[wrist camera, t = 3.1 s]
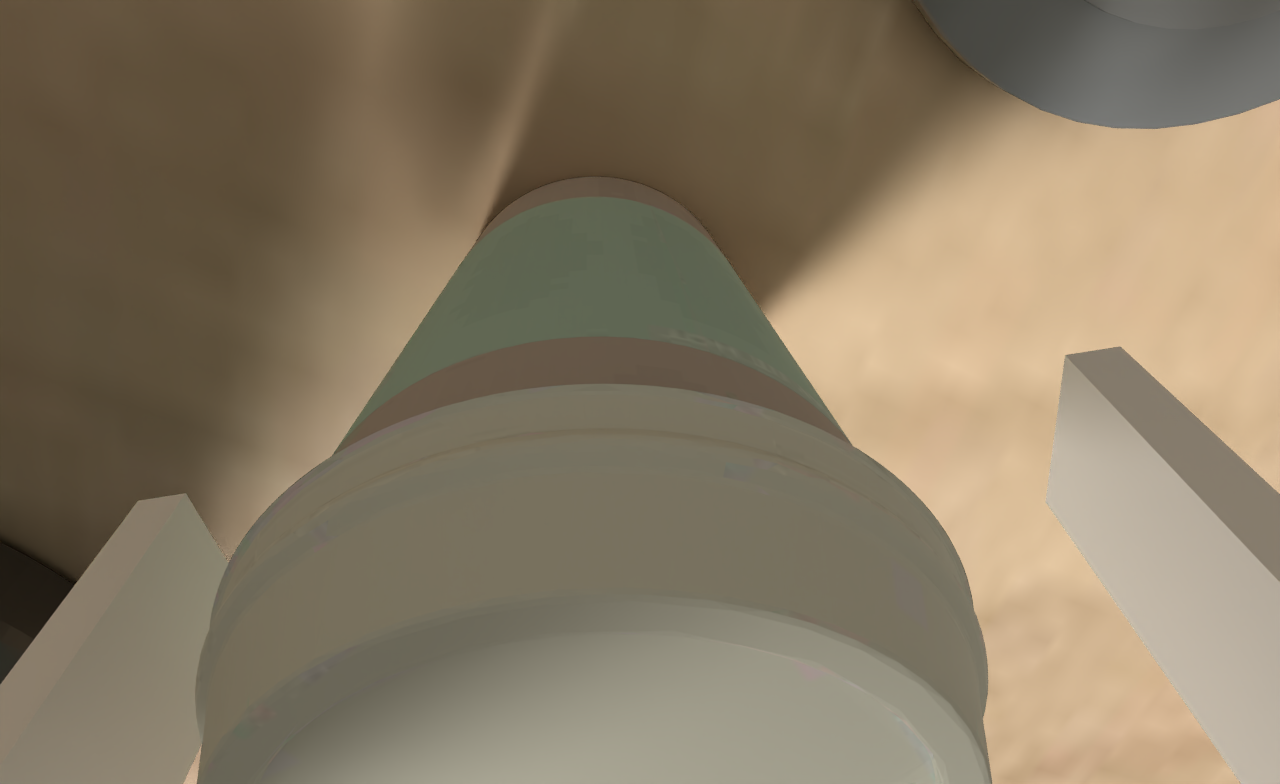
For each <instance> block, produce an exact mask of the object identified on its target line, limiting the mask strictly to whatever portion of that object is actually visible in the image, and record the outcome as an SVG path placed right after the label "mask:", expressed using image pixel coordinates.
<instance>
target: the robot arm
mask: <svg viewBox="0 0 1280 784" xmlns="http://www.w3.org/2000/svg"><path fill="white" fill-rule="evenodd" d="M1046 503H1047V505H1048V506H1049V508H1050V509H1051V511H1052V512H1053V514H1054V515H1055V516H1056V518H1057V519H1058V521H1059V522H1060V524H1061V525H1062V526H1063V528H1064V529H1065V531H1066V532H1067V534H1068V535H1069V537H1070V538H1071V539H1072V541H1073V542H1074V544H1075V545H1076V547H1077V548H1078V550H1079V551H1080V552H1081V554H1082V555H1083V557H1084V558H1085V560H1086V561H1087V563H1088V564H1089V565H1090V567H1091V568H1092V570H1093V571H1094V573H1095V574H1096V576H1097V577H1098V578H1099V580H1100V581H1101V583H1102V584H1103V586H1104V587H1105V589H1106V590H1107V591H1108V593H1109V594H1110V596H1111V597H1112V599H1113V600H1114V602H1115V603H1116V604H1117V606H1118V607H1119V609H1120V610H1121V612H1122V613H1123V614H1124V616H1125V617H1126V619H1127V620H1128V622H1129V623H1130V625H1131V626H1132V627H1133V629H1134V630H1135V632H1136V633H1137V635H1138V636H1139V638H1140V639H1141V640H1142V642H1143V643H1144V645H1145V646H1146V648H1147V649H1148V651H1149V652H1150V653H1151V655H1152V656H1153V658H1154V659H1155V661H1156V662H1157V664H1158V665H1159V666H1160V668H1161V669H1162V671H1163V672H1164V674H1165V675H1166V677H1167V678H1168V679H1169V681H1170V682H1171V684H1172V685H1173V687H1174V688H1175V690H1176V691H1177V692H1178V694H1179V695H1180V697H1181V698H1182V700H1183V701H1184V702H1185V704H1186V705H1187V707H1188V708H1189V710H1190V711H1191V713H1192V714H1193V715H1194V717H1195V718H1196V720H1197V721H1198V723H1199V724H1200V726H1201V727H1202V728H1203V730H1204V731H1205V733H1206V734H1207V736H1208V737H1209V739H1210V740H1211V741H1212V743H1213V744H1214V746H1215V747H1216V749H1217V750H1218V752H1219V753H1220V754H1221V756H1222V757H1223V759H1224V760H1225V762H1226V763H1227V765H1228V766H1229V767H1230V769H1231V770H1232V772H1233V773H1234V775H1235V776H1236V778H1237V779H1238V780H1239V782H1240V783H1241V784H1280V494H1279V493H1278V492H1277V491H1276V490H1275V489H1273V488H1272V487H1271V486H1270V485H1269V484H1268V483H1267V482H1266V481H1265V480H1264V479H1263V478H1262V477H1260V476H1259V475H1258V474H1257V473H1256V472H1255V471H1254V470H1253V469H1252V468H1251V467H1250V466H1249V465H1248V464H1246V463H1245V462H1244V461H1243V460H1242V459H1241V458H1240V457H1239V456H1238V455H1237V454H1236V453H1235V452H1234V451H1232V450H1231V449H1230V448H1229V447H1228V446H1227V445H1226V444H1225V443H1224V442H1223V441H1222V440H1221V439H1220V438H1218V437H1217V436H1216V435H1215V434H1214V433H1213V432H1212V431H1211V430H1210V429H1209V428H1208V427H1207V426H1206V425H1204V424H1203V423H1202V422H1201V421H1200V420H1199V419H1198V418H1197V417H1196V416H1195V415H1194V414H1193V413H1191V412H1190V411H1189V410H1188V409H1187V408H1186V407H1185V406H1184V405H1183V404H1182V403H1181V402H1180V401H1179V400H1177V399H1176V398H1175V397H1174V396H1173V395H1172V394H1171V393H1170V392H1169V391H1168V390H1167V389H1166V388H1165V387H1163V386H1162V385H1161V384H1160V383H1159V382H1158V381H1157V380H1156V379H1155V378H1154V377H1153V376H1152V375H1151V374H1149V373H1148V372H1147V371H1146V370H1145V369H1144V368H1143V367H1142V366H1141V365H1140V364H1139V363H1138V362H1137V361H1135V360H1134V359H1133V358H1132V357H1131V356H1130V355H1129V354H1128V353H1127V352H1126V351H1125V350H1124V349H1122V348H1121V347H1114V348H1108V349H1102V350H1095V351H1089V352H1083V353H1076V354H1070V355H1065V361H1064V368H1063V376H1062V383H1061V390H1060V398H1059V405H1058V413H1057V420H1056V428H1055V435H1054V443H1053V450H1052V458H1051V465H1050V473H1049V480H1048V488H1047V495H1046ZM228 564H229V563H228V561H227V560H226V558H225V557H224V555H223V553H222V552H221V550H220V548H219V547H218V545H217V543H216V542H215V540H214V538H213V537H212V535H211V534H210V532H209V530H208V529H207V527H206V525H205V524H204V522H203V520H202V519H201V517H200V516H199V514H198V512H197V511H196V509H195V507H194V506H193V504H192V502H191V501H190V499H189V498H188V496H187V494H186V493H183V494H177V495H171V496H164V497H158V498H152V499H145V500H139V501H137V503H136V504H135V505H134V507H133V508H132V509H131V511H130V512H129V513H128V515H127V516H126V517H125V519H124V520H123V521H122V523H121V524H120V525H119V527H118V528H117V529H116V531H115V532H114V533H113V535H112V536H111V537H110V539H109V540H108V541H107V543H106V544H105V545H104V547H103V548H102V549H101V551H100V552H99V553H98V555H97V556H96V557H95V559H94V560H93V561H92V563H91V564H90V565H89V567H88V568H87V569H86V571H85V572H84V573H83V575H82V576H81V577H80V579H79V580H78V581H77V583H76V584H75V585H73V584H72V583H70V582H69V581H67V580H66V579H64V578H63V577H61V576H60V575H58V574H57V573H55V572H54V571H52V570H50V569H49V568H47V567H45V566H43V565H42V564H40V563H38V562H37V561H35V560H33V559H31V558H30V557H28V556H26V555H24V554H22V553H20V552H18V551H16V550H14V549H13V548H11V547H9V546H6V545H4V544H2V543H0V784H183V783H184V781H185V778H186V776H187V774H188V772H189V770H190V768H191V766H192V763H193V761H194V759H195V757H196V755H197V753H198V751H199V748H200V746H201V744H202V743H201V740H200V735H199V730H198V725H197V719H196V706H195V686H196V675H197V670H198V665H199V659H200V654H201V651H202V648H203V644H204V641H205V638H206V636H207V633H208V631H209V628H210V619H211V613H212V608H213V604H214V600H215V597H216V593H217V590H218V587H219V584H220V582H221V579H222V577H223V574H224V572H225V570H226V568H227V566H228Z"/></svg>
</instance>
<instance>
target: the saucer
mask: <svg viewBox="0 0 1280 784" xmlns="http://www.w3.org/2000/svg"><path fill="white" fill-rule="evenodd" d="M913 2H914V3H915V5H916V6H917V8H918V9H919V11H920V12H921V14H922V15H923V16H924V18H925V19H926V21H927V22H928V24H929V25H930V27H931V28H932V30H933V31H934V33H935V34H936V35H937V36H938V37H939V38H940V39H941V40H942V41H943V42H944V43H945V44H946V45H947V46H948V47H949V49H950V50H951V51H952V52H953V53H954V54H955V55H956V56H957V57H958V58H959V59H960V60H961V61H962V62H963V63H965V64H966V65H967V66H969V67H970V68H971V69H973V70H974V71H975V72H977V73H978V74H979V75H980V76H982V77H983V78H984V79H986V80H987V81H988V82H990V83H991V84H993V85H995V86H997V87H999V88H1001V89H1002V90H1004V91H1006V92H1008V93H1010V94H1012V95H1014V96H1016V97H1018V98H1020V99H1021V100H1023V101H1025V102H1027V103H1029V104H1031V105H1033V106H1035V107H1037V108H1039V109H1040V110H1043V111H1046V112H1049V113H1052V114H1055V115H1058V116H1061V117H1064V118H1067V119H1070V120H1073V121H1076V122H1081V123H1087V124H1093V125H1099V126H1105V127H1111V128H1136V129H1158V128H1167V127H1175V126H1184V125H1193V124H1199V123H1203V122H1207V121H1211V120H1215V119H1220V118H1224V117H1228V116H1232V115H1236V114H1240V113H1243V112H1246V111H1248V110H1251V109H1254V108H1257V107H1259V106H1262V105H1265V104H1268V103H1271V102H1273V101H1276V100H1279V99H1280V0H913Z"/></svg>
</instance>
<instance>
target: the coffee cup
mask: <svg viewBox="0 0 1280 784" xmlns="http://www.w3.org/2000/svg"><path fill="white" fill-rule="evenodd" d="M987 694H988V665H987V656H986V649H985V643H984V639H983V635H982V631H981V628H980V625H979V622H978V619H977V616H976V614H975V612H974V608H973V601H972V595H971V591H970V586H969V583H968V579H967V576H966V573H965V570H964V567H963V565H962V563H961V560H960V558H959V556H958V554H957V552H956V550H955V548H954V546H953V544H952V542H951V540H950V538H949V537H948V535H947V534H946V532H945V530H944V529H943V527H942V526H941V525H940V523H939V522H938V520H937V519H936V518H935V516H934V515H933V514H932V513H931V511H930V510H929V509H928V508H927V507H926V505H925V504H924V503H923V502H922V501H921V500H920V499H919V498H918V497H917V496H916V495H915V494H914V493H913V492H912V491H911V490H910V489H909V488H908V487H907V486H906V485H905V484H904V483H903V482H902V481H901V480H899V479H898V478H897V477H896V476H895V475H894V474H892V473H891V472H890V471H888V470H887V469H886V468H885V467H883V466H882V465H881V464H879V463H878V462H876V461H875V460H874V459H872V458H871V457H869V456H868V455H866V454H865V453H863V452H862V451H860V450H858V449H857V448H855V447H853V446H852V444H851V443H850V441H849V440H848V438H847V437H846V435H845V434H844V432H843V431H842V429H841V428H840V426H839V425H838V423H837V422H836V420H835V419H834V417H833V416H832V414H831V413H830V411H829V410H828V409H827V407H826V406H825V404H824V403H823V401H822V400H821V398H820V397H819V395H818V394H817V392H816V391H815V389H814V388H813V386H812V385H811V383H810V382H809V380H808V379H807V377H806V376H805V374H804V373H803V371H802V370H801V369H800V367H799V366H798V364H797V363H796V361H795V360H794V358H793V357H792V355H791V354H790V352H789V351H788V349H787V348H786V346H785V345H784V343H783V342H782V340H781V339H780V337H779V336H778V334H777V333H776V331H775V330H774V329H773V327H772V326H771V324H770V323H769V321H768V320H767V318H766V317H765V315H764V314H763V312H762V311H761V309H760V308H759V306H758V305H757V303H756V302H755V300H754V299H753V297H752V296H751V294H750V293H749V291H748V290H747V289H746V287H745V286H744V284H743V283H742V281H741V280H740V278H739V277H738V275H737V274H736V272H735V271H734V269H733V268H732V266H731V265H730V263H729V262H728V260H727V259H726V258H725V256H724V255H723V253H722V252H721V251H720V249H719V248H718V246H717V245H716V243H715V242H714V241H713V239H712V238H711V236H710V235H709V233H708V232H707V231H706V229H705V228H704V227H703V226H702V224H701V223H700V222H699V221H698V220H697V219H696V218H695V217H694V216H693V215H692V214H691V213H690V212H689V211H688V210H687V209H686V208H684V207H683V206H682V205H681V204H679V203H678V202H676V201H675V200H673V199H672V198H670V197H668V196H667V195H665V194H663V193H661V192H659V191H657V190H655V189H653V188H651V187H648V186H645V185H643V184H639V183H636V182H633V181H629V180H624V179H618V178H612V177H578V178H571V179H566V180H561V181H557V182H554V183H550V184H547V185H545V186H542V187H540V188H537V189H535V190H533V191H531V192H529V193H527V194H525V195H523V196H522V197H520V198H518V199H517V200H515V201H514V202H512V203H511V204H510V205H508V206H507V207H506V208H505V209H503V210H502V211H501V212H500V213H499V214H498V215H497V216H496V217H495V218H494V219H493V220H492V221H491V222H490V224H489V225H488V226H487V227H486V229H485V230H484V231H483V233H482V234H481V236H480V237H479V238H478V240H477V241H476V243H475V244H474V246H473V247H472V249H471V250H470V251H469V253H468V254H467V256H466V257H465V259H464V260H463V261H462V263H461V264H460V266H459V267H458V269H457V270H456V272H455V273H454V275H453V276H452V278H451V279H450V281H449V282H448V284H447V285H446V287H445V288H444V290H443V291H442V293H441V294H440V295H439V297H438V298H437V300H436V301H435V303H434V304H433V306H432V307H431V309H430V310H429V312H428V313H427V315H426V316H425V318H424V319H423V321H422V322H421V324H420V325H419V327H418V328H417V330H416V331H415V333H414V334H413V336H412V337H411V339H410V340H409V342H408V343H407V345H406V346H405V348H404V349H403V351H402V352H401V354H400V355H399V357H398V358H397V360H396V361H395V363H394V364H393V366H392V367H391V369H390V370H389V372H388V373H387V375H386V376H385V378H384V379H383V381H382V382H381V384H380V385H379V387H378V388H377V389H376V391H375V392H374V394H373V395H372V397H371V398H370V400H369V401H368V403H367V404H366V406H365V407H364V409H363V410H362V412H361V413H360V415H359V416H358V418H357V419H356V421H355V422H354V424H353V425H352V427H351V428H350V430H349V431H348V433H347V434H346V436H345V437H344V439H343V440H342V442H341V443H340V445H339V446H338V448H337V449H336V451H335V452H334V454H333V455H332V457H330V458H328V459H327V460H325V461H324V462H322V463H321V464H319V465H318V466H317V467H315V468H314V469H312V470H311V471H310V472H308V473H307V474H306V475H304V476H303V477H302V478H300V479H299V480H298V481H297V482H295V483H294V484H293V485H292V486H291V487H290V488H288V489H287V490H286V491H285V492H284V493H283V494H282V495H281V496H280V497H278V498H277V499H276V500H275V501H274V502H273V503H272V504H271V506H270V507H269V508H268V509H267V510H266V511H265V512H264V513H263V514H262V515H261V516H260V517H259V519H258V520H257V521H256V522H255V524H254V525H253V526H252V527H251V529H250V530H249V531H248V533H247V534H246V536H245V537H244V538H243V540H242V541H241V543H240V544H239V546H238V547H237V549H236V551H235V553H234V554H233V556H232V558H231V560H230V562H229V564H228V566H227V568H226V570H225V572H224V574H223V577H222V579H221V582H220V584H219V587H218V590H217V593H216V597H215V600H214V604H213V608H212V613H211V619H210V628H209V631H208V633H207V636H206V638H205V641H204V644H203V648H202V651H201V654H200V659H199V665H198V670H197V675H196V686H195V706H196V719H197V725H198V730H199V735H200V740H201V743H202V748H201V756H200V764H199V771H198V779H197V784H992V778H991V771H990V764H989V758H988V751H987V744H986V738H985V731H984V724H983V716H984V712H985V707H986V700H987Z"/></svg>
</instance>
